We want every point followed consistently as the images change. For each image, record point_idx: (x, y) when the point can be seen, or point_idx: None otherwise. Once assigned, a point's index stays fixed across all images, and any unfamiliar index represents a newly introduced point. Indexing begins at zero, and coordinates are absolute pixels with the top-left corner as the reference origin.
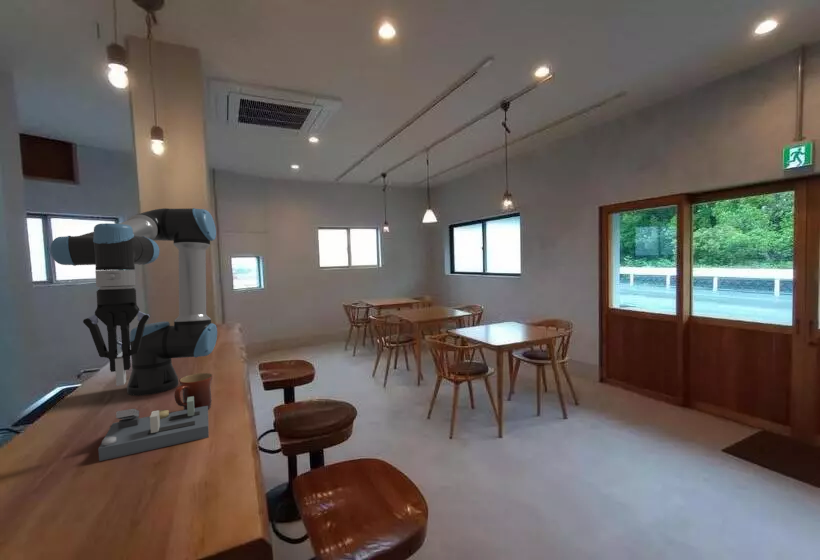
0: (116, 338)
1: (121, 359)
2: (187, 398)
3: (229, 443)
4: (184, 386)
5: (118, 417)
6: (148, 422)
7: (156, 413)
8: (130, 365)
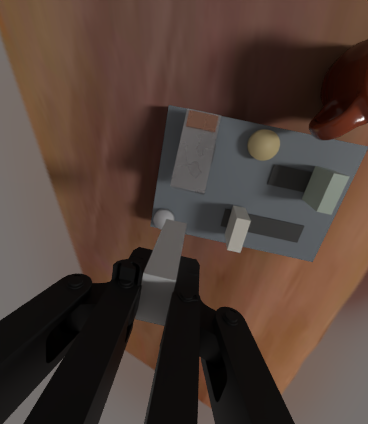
0: (98, 393)
1: (161, 321)
2: (329, 183)
3: (316, 290)
4: (358, 125)
5: (175, 188)
6: (231, 161)
7: (242, 237)
8: (198, 271)
